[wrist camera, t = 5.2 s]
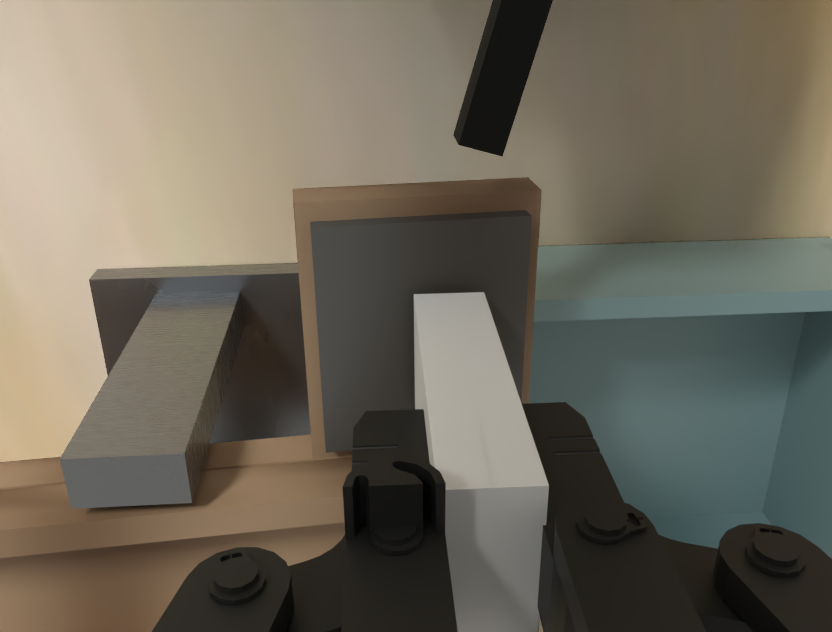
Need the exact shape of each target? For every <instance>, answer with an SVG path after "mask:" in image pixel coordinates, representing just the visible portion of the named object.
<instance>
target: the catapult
mask: <svg viewBox="0 0 832 632" xmlns="http://www.w3.org/2000/svg"><path fill="white" fill-rule="evenodd" d="M293 205H294V218H295V231H296V244H297V258H298V271H299V284H300V297H301V310H302V324H303V337H304V350H305V363H306V376H307V389H308V403H309V416H310V429H311V435H301V436H290V437H278V438H267V439H256V440H245V441H234V442H223V443H211V444H210V445H209V448H208V451H207V455H206V458H205V461H204V465H203V468H202V471H201V475H200V478H199V482H198V485H197V488H196V492H195V495H194V498H193V502H192V503H181V504H160V505H139V506H118V507H98V508H77V509H71V505H70V501H69V496H68V492H67V488H66V484H65V480H64V475H63V471H62V467H61V463H60V458H61V457H55V458H43V459H32V460H21V461H10V462H0V632H152V630H153V629H154V627H155V626H156V624H157V622H158V621H159V619H160V618H161V616H162V615H163V613H164V612H165V610H166V608H167V607H168V605H169V604H170V602H171V601H172V599H173V597H174V596H175V594H176V593H177V591H178V590H179V588H180V587H181V585H182V583H183V582H184V580H185V579H186V577H187V576H188V575H189V574H190V572H191V571H192V570H193V569H194V568H195V567H196V566H197V565H198V564H199V563H200V562H202V561H203V560H205V559H207V558H209V557H211V556H212V555H214V554H216V553H218V552H222V551H225V550H229V549H233V548H236V547H258V548H262V549H265V550H269V551H272V552H275V553H276V554H277V555H278V556H280V557H281V558H282V559H283V560H285V561H286V563H287V565H288V566H290V565H294V564H297V563H301V562H304V561H307V560H310V559H313V558H315V557H318V556H320V555H322V554H324V553H325V552H327V551H329V550H330V549H332V548H333V547H334V546H335V545H336V544H337V543H339V542H340V541H341V540H342V538H343V536H344V535H345V521H344V504H343V484H344V482H345V479H346V477H347V475H348V474H349V473H350V472H351V471H352V450H353V427H354V426H355V425H356V424H357V422H358V421H359V420H360V418H361V417H362V416H363V414H364V413H365V412H366V411H383V410H412V409H415V368H414V294H438V293H472V292H484V293H485V296H486V299H487V302H488V305H489V308H490V311H491V314H492V317H493V320H494V323H495V326H496V329H497V332H498V335H499V338H500V341H501V344H502V347H503V350H504V353H505V356H506V359H507V362H508V365H509V368H510V371H511V374H512V377H513V380H514V383H515V386H516V389H517V392H518V395H519V398H520V401H521V404H525V403H529V392H530V375H531V358H532V341H533V324H534V307H535V290H536V273H537V256H538V239H539V222H540V205H541V189H540V188H538V187H537V186H536V185H535V184H534V183H533V182H532V181H531V180H530V179H529V178H508V179H488V180H467V181H447V182H426V183H406V184H386V185H365V186H345V187H324V188H304V189H293Z"/></svg>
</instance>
